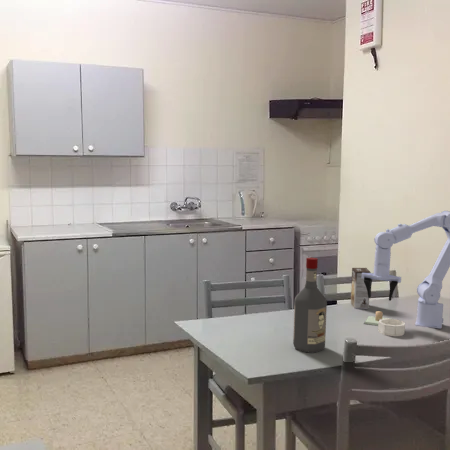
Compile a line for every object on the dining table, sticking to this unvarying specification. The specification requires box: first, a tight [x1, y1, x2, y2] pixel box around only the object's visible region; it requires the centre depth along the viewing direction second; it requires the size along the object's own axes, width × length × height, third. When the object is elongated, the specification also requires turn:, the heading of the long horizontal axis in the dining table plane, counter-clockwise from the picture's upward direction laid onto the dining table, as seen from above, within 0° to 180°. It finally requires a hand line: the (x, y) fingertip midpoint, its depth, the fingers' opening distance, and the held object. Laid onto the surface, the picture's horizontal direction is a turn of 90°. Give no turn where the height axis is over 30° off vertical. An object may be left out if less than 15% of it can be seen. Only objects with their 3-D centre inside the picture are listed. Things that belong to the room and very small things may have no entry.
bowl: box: [377, 318, 406, 337], centre depth 206 cm, size 9×9×4 cm
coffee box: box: [350, 267, 372, 310], centre depth 242 cm, size 9×6×16 cm
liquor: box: [292, 257, 328, 353], centre depth 187 cm, size 9×9×30 cm
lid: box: [364, 310, 391, 326], centre depth 219 cm, size 9×9×4 cm
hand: (379, 298), depth 218 cm, fingers open, 7 cm apart
